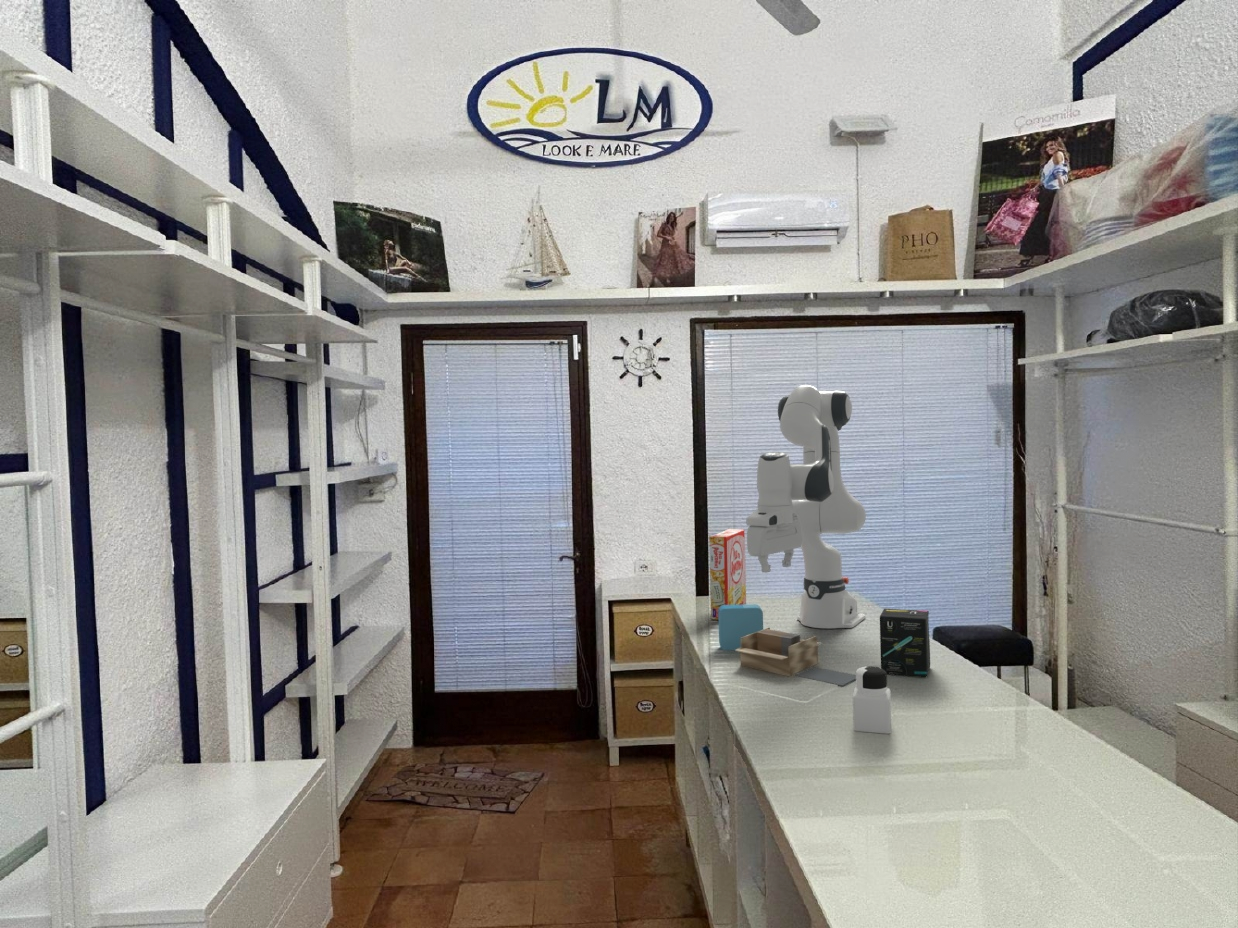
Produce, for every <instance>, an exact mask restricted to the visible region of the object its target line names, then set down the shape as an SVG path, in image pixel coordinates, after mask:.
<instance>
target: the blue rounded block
mask: <svg viewBox="0 0 1238 928" xmlns="http://www.w3.org/2000/svg"><path fill="white" fill-rule="evenodd" d="M718 619H719V620H718V642H719V648H721V650H722V651H735V650H736V649H739V648H740V647H741V637H744V636H747V635H750V634H752V633H755V632H758V631H761V630H764V612H763V609H762V608H761V606H760V605H758V604H756V603H755V604H750V603H749V604H746V605H722V606H720V607H719V609H718Z"/></svg>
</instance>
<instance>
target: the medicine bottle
mask: <svg viewBox="0 0 1238 928" xmlns="http://www.w3.org/2000/svg"><path fill="white" fill-rule="evenodd" d="M855 675H856V680H855V685H854V689H853V695H852V716H853V717H852V720H853V721H852V722H853V723H852V725H853V726H852V727H853V728H852V729H853V731H854V732H860V733H861V732H863V733H871V734H872V733H873V734H875V733H876V734H882V735H884V734H886V735H887V734H888V735H890V734H891V727H892V711H891V709H892V708H891V707H892V705H891V689H890V688H888V676H887V673H886V671H885V670H883V669H881V667H878V666H872V665H871V666H870V665H869V666H866V665H865V666H861V667H859V668H857V669H856V671H855Z"/></svg>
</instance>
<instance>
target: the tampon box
mask: <svg viewBox="0 0 1238 928" xmlns="http://www.w3.org/2000/svg"><path fill="white" fill-rule="evenodd" d="M929 614H930V613H929V610H923V609H921V610H917V609H900V608H898V609H897V608H883V610H882V612H881V613H880V615H879V644H880V645H879V646H880V647H879V648H880V668H881V669H883V670H885V671H886V673H887V675H889V676H902V677H910V678H911V677H913V678H914V677H915V678H924V679H926V678H927V677H928V675H929V671H930V667H931V647H930V646H931V643H930V641H931V639H930V625H929V624H930V623H929V619H930V617H929V616H930V615H929Z"/></svg>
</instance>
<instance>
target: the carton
mask: <svg viewBox="0 0 1238 928" xmlns="http://www.w3.org/2000/svg"><path fill="white" fill-rule="evenodd" d="M766 629H770V630H771V628H770V627H767V628H763V630H766ZM763 630H761V631H763ZM758 632H760V631H758ZM820 645H822V642H818V636H817V635H814V636H812V637H810V638H807V639H803V638H800V642H799V643H796V644H794V645H791V646H789V647H788V657H787V656H782V655H777V654H772V653H767V652H762V651H758V639H757V632H755V633H752V634H750V635H747V636H744V637H741V647H740V648H739V649H736V650H734V651H735V652H738V653H739V656H740V666H741V667H746V668H748V669H749V668H750V669H755V670H760V671H763V672H768V673H773V674H778V675H781V676H785V677H786V676H787V677H791V676H793V675H795V674H798V673H800V672H802V671H804V670H807V669H809V668H811V667H813V666H815V665H817V664H819V649H818V648H819V647H818V646H820Z"/></svg>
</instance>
